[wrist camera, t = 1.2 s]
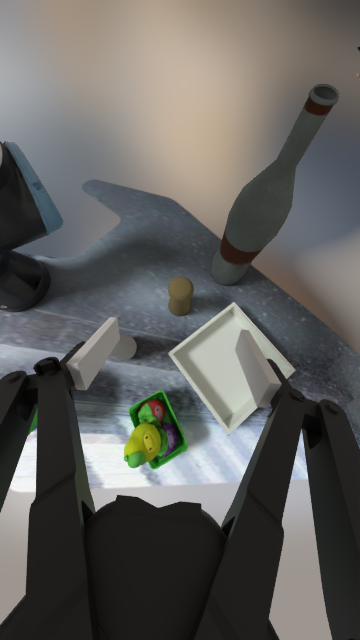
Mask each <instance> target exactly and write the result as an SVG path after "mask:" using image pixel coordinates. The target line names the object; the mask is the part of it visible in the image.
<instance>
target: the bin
mask: <svg viewBox="0 0 360 640" xmlns="http://www.w3.org/2000/svg"><path fill="white" fill-rule="evenodd" d="M241 329H244V330H249V331H250V333H251V335H252V336H253V338H254V340H255V341H256V343H257V344H258V346H259V348H260V349H261V351H262V353H263V354H264V356H265V358H267V359H272V360H273V361H274V362H275V363H276V364H277V366H278V367H279V369H280V370H281V372H282V373H283V375H284V376H285V378H286V379H287V378H288V377H289V376H290V375H291V374H292V373H293V372H294V371H295V369H294V368H293V366H292V365H291V364H290V363H289V362H288V361H287V360H286V359H285V358H284V357H283V355H282V354H281V353H280V352H279V351H278V350H277V349H276V348H275V347H274V345H273V344H272V343H271V342H270V341H269V340H268V339H267V338H266V337H265V336H264V334H263V333H262V332H261V331H260V330H259V329H258V328H257V327H256V326H255V325H254V323H253V322H252V321H251V320H250V319H249V318H248V317H247V316H246V315H245V313H244V312H243V311H242V310H241V309H240V308H239V307H238V306H237V305H236V304H235V302H233V303H232V304H230V305H229V306H228V307H227V308H225V309H224V310H223V311H221V312H220V313H219V314H218V315H216V316H215V317H214V318H212V319H211V320H210V321H209V322H207V323H206V324H205V325H203V326H202V327H201V328H200V329H198V330H197V331H196V332H194V333H193V334H192V335H191V336H189V337H188V338H187V339H185V340H184V341H183V342H182V343H180V344H179V345H178V346H176V347H175V348H174V349H173V350H171V351H170V352H169V353H168V354H169V356H170V357H171V358H172V360H173V361H174V362H175V364H176V365H177V367H178V368H179V369H180V371H181V372H182V373H183V375H184V376H185V377H186V379H187V380H188V381H189V383H190V384H191V386H192V387H193V388H194V390H195V391H196V392H197V394H198V395H199V396H200V398H201V399H202V400H203V402H204V403H205V404H206V406H207V407H208V409H209V410H210V411H211V413H212V414H213V415H214V417H215V418H216V419H217V421H218V422H219V423H220V425H221V426H222V427H223V429H224V430H225V432H226V433H227V434H228V436H229V435H230V434H231V433H232V432H233V431H234V430H235V429H236V428H237V427H238V426H239V425H240V424H241V423H242V422H243V421H244V420H245V419H246V418H247V417H248V416H249V415H250V414H251V413H252V412H253V411H254V410H255V409H256V408H257V406H256V403H255V401H254V398H253V395H252V393H251V390H250V388H249V385H248V383H247V380H246V377H245V375H244V372H243V370H242V367H241V364H240V362H239V359H238V357H237V354H236V352H235V347H236V344H237V341H238V338H239V335H240V332H241Z"/></svg>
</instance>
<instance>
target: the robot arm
mask: <svg viewBox="0 0 360 640" xmlns="http://www.w3.org/2000/svg"><path fill="white" fill-rule="evenodd" d="M62 225H63V219H62V217H61V215H60V213H59V211H58V209H57V208H56V206H55V204H54V203H53V201H52V199H51V198H50V196H49V194H48V193H47V191H46V189H45V188H44V186H43V184H42V183H41V181H40V180H39V178H38V176H37V175H36V173H35V171H34V170H33V168H32V166H31V165H30V163H29V162H28V160H27V159H26V157H25V155H24V154H23V152H22V151H21V150H20V148H19V146H18V145H16V144H15V143H13V142H6V141H5V142H4V143H3V144H2V143H1V142H0V310H4V311H8V312H18V311H23V310H26V309H28V308H30V307H32V306H34V305H35V304H37V303H38V302H39V301H40V300H41V299H42V298H43V297H44V295H45V294H46V292H47V290H48V288H49V285H50V275H49V272H48V270H47V268H46V267H45V266H44V265H43V264H41V263H40V262H39V261H37V260H36V259H34V258H32V257H30V256H27V255H24V254H21V253H19V252H16V251H13V250H12V249H15V248H17V247H20V246H22V245H24V244H27V243H29V242H32V241H34V240H37V239H39V238H42V237H44V236H46V235H47V236H48V235H50V233H52V232H54V231H56V230H57V229H59V228H61V227H62ZM119 340H120V334H119V327H118V321H117V318H114V317H110V318H109V319H108V320H107V321H106V322H105V323H104V324H103V325H102V326H101V327H100V328H99V329H98V330H97V331H96V332H95V333H94V334H93V336H92V337H91V338H90V339H89V340H88V341H87V342H83V341H82V342H81V343H79V344H77V345H76V346H75V347H74V348H73V349H72V350H71V351H70V352H69V353H68V354H67V355H66V356H65V357H64V358H63V359H62V360H61V361H60V362H59V360H58V358H56V357H48V358H45V359H42V360H40V361H39V362H37V363H36V364H35V365H34V370H35V372H36V374H33V375H27V374H26V372H25V371H15V372H12V373H10V374H7V375H6V376H4V377H3V378H2V379H1V380H0V512H1V509H2V507H3V504H4V501H5V498H6V495H7V492H8V490H9V487H10V484H11V481H12V478H13V475H14V473H15V470H16V467H17V464H18V461H19V458H20V456H21V453H22V450H23V447H24V444H25V441H26V439H27V436H28V433H29V430H30V427H31V424H32V422H33V419H34V416H35V413H36V410H37V407H38V417H37V467H36V497H35V500H34V502H33V503H32V504H31V507H30V512H29V529H28V554H27V576H26V595H25V596H24V597H23V598H22V600H21V601H20V602H19V603H18V604H17V606H16V607H15V608H14V609H13V611H12V612H11V613H10V614H9V615H8V617H7V618H6V619H5V620H4V621H3V622H2V624H1V625H0V640H279V638H278V636H277V634H276V632H275V630H274V628H273V626H272V624H271V622H270V620H269V613H270V608H271V602H272V598H273V592H274V587H275V582H276V577H277V572H278V566H279V561H280V556H281V551H282V546H283V538H284V530H283V527H282V517H283V512H284V507H285V502H286V498H287V493H288V489H289V484H290V479H291V475H292V470H293V465H294V461H295V456H296V451H297V446H298V442H299V437H300V432H301V428H302V433H303V440H304V448H305V456H306V464H307V472H308V479H309V487H310V495H311V503H312V511H313V518H314V526H315V534H316V541H317V550H318V557H319V565H320V573H321V581H322V589H323V595H324V601H325V606H326V613H327V617H328V622H329V627H330V630H331V635H332V640H360V449H359V447H358V444H357V441H356V439H355V436H354V434H353V431H352V429H351V426H350V424H349V421H348V418H347V416H346V414H345V412H344V411H343V410H342V408H341V407H339V406H338V405H337V404H335V403H334V402H332V401H330V400H326V399H322V400H321V401H320V402H319V403H317V402H315V401H312V400H309V399H306V398H305V396H304V395H303V394H302V393H301V392H299V391H298V390H296V389H294V388H292V387H291V385H290V384H289V382H288V381H287V379H286V378H285V376H284V375H283V373H282V372H281V370H280V369H279V367H278V366H277V364H276V363H275V362H274V361H273V360H272V359H267V358H265V356H264V354H263V353H262V351H261V349H260V348H259V346H258V344H257V343H256V341H255V340H254V338H253V336H252V335H251V333H250V331H249V330H244V329H241V332H240V335H239V338H238V341H237V344H236V347H235V352H236V354H237V357H238V359H239V362H240V364H241V367H242V370H243V372H244V375H245V377H246V380H247V383H248V385H249V388H250V390H251V393H252V395H253V398H254V401H255V403H256V406H257V407H262V408H267V407H268V406H269V404H271V406H272V410H271V412H270V413H269V415H268V416H267V417H268V419H267V421H266V424H265V426H264V429H263V431H262V433H261V436H260V438H259V441H258V443H257V445H256V448H255V450H254V452H253V455H252V457H251V460H250V462H249V464H248V467H247V469H246V472H245V474H244V476H243V479H242V481H241V484H240V486H239V488H238V491H237V493H236V496H235V498H234V500H233V503H232V505H231V507H230V509H229V511H228V512H227V515H226V516H225V519H224V521H223V523H222V526H221V527H220V526H219V525H218V523H217V522H216V521H215V520H214V519H213V518H212V517H211V516H210V515H209V514H208V513H207V512H205V511H203V510H202V509H201V504H200V503H191V502H181V501H180V502H177V503H174V504H171V505H167V506H164V507H161V508H157V507H155V506H153V505H151V504H149V503H147V502H145V501H144V500H142V499H140V498H138V497H132V496H122V495H117V498H116V501H113V502H111V503H109V504H106V505H105V506H103V507H102V508H100V509H99V510H98V511H97V512H95V507H94V502H93V499H92V495H91V492H90V488H89V483H88V477H87V472H86V466H85V460H84V455H83V449H82V444H81V438H80V432H79V427H78V421H77V416H76V410H75V405H74V399H73V393H72V390H71V389H72V387H73V386H74V385H75V387H76V389H77V390H87V389H88V387H89V386H90V384H91V383H92V381H93V380H94V378H95V377H96V375H97V373H98V372H99V370H100V369H101V367H102V366H103V364H104V363H105V361H106V360H107V358H108V357H109V355H110V354H111V352H112V351H113V349H114V347H115V346H116V344H117V343H118V341H119Z"/></svg>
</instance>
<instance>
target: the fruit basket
mask: <svg viewBox="0 0 360 640" xmlns="http://www.w3.org/2000/svg"><path fill="white" fill-rule="evenodd" d="M129 415H130V417H131V420H132V422H133V425H134V427H135V429H134V431H133V432H132V434H131V436H130V439H129V441H128V442H127V443H126V446H125V449H124V455H125V457H124V460H125V461H127V462H128V465H129V466H130V467H131V468H136V467H138V466H140V465H143V464H145V463H146V462H148V463H149V465H150V467H151V468H152V469H157V468H159V467H160V466H161V465H163V464H165V463H167V462H168V461H170V460H171V459H173V458H175V457H176V456H178V455H179V454H181V453H183V452H184V451H186V450H187V448H188V443H187V441H186V439H185V437H184V434H183V432H182V430H181V428H180V426H179V423H178V421H177V419H176V417H175V414H174V412H173V410H172V408H171V406H170V403H169V401H168V399H167V397H166V394H165V392H164V391H162V390H160V391H158V392H156V393H154V394H153V395H151V396H149V397H147V398H145V399H144V400H142V401H140V402H138V403H136V404H134V405H133V406H131V407H130V408H129Z"/></svg>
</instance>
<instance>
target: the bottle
mask: <svg viewBox="0 0 360 640" xmlns="http://www.w3.org/2000/svg"><path fill="white" fill-rule="evenodd" d="M338 98H339V92H338V90H337V89H336V88H335V87H333V86H330V85H328V84H318V85H316V86H315V87H313V88H312V89H311V91H310V92H309V97H308V100H307V101H306V103H305V105H304V107H303V109H302V111H301V113H300V115H299V117H298V119H297V121H296V123H295V125H294V127H293V129H292V130H291V133H290V135H289V136H288V138H287V140H286V142H285V144H284V146H283V148H282V150H281V152H280V154H279V156H278V158H277V160H275V161H274V162H273V163H272V164H271V165H269V166H268V167H267V168H266V169H265V170H263V171H262V172H261V173H260V174H259V175H258V176H256V177H255V178H254V179H253V180H252V181H250V182H249V183H248V184H247V185H246V186H244V188H243V189H242V191H241V192H240V194H239V195H238V197H237V198H236V200H235V202H234V204H233V206H232V208H231V211H230V213H229V215H228V220H227V224H226V228H225V231H224V235H223V238H222V242H221V245H220V247H219V248H218V250H217V252H216V254H215V255H214V257H213V260H212V265H211V274H212V277H213V279H214V280H215V281H216V282H217V283H219V284H221V285H225V286H226V285H231V284H234V283H235V282H237V281H238V280H239V279H240V278H241V277H243V276H244V275H245V273H246V272H247V270H248V268H249V266H250V264H251V262H252V260H253V259H254V258H255V257H256V256H257V255H258V254H259V253H260V252H261V250H262V249H263V248H264V247H265V246H266V245H267V244H268V243H269V242H270V241H271V240H272V239H273V238H274V237H275V236H276V235H277V233H278V232H279V230H280V228H281V227H282V225H283V224H284V222H285V220H286V218H287V216H288V214H289V212H290V209H291V207H292V199H293V189H294V179H295V170H296V166H297V165H298V163H299V161H300V160H301V158H302V156H303V155H304V153H305V151H306V150H307V148H308V146H309V145H310V143H311V141H312V140H313V138H314V136H315V135H316V133H317V131H318V130H319V128H320V126H321V125H322V123H323V122H324V120H325V118H326V117H327V115H328V113H329V112H330V110H331V108H332V107H333V105H334V104H335V103H337V101H338Z"/></svg>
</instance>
